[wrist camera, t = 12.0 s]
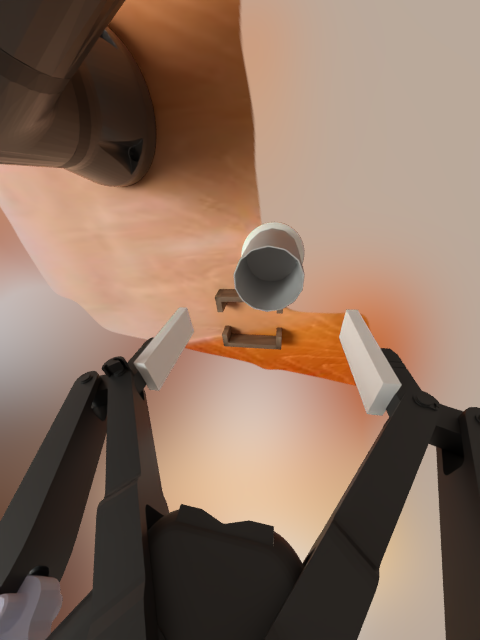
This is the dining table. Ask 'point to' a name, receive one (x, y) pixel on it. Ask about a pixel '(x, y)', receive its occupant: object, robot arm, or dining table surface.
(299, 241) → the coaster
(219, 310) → the pocket holder
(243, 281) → the cup
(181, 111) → the dining table surface
